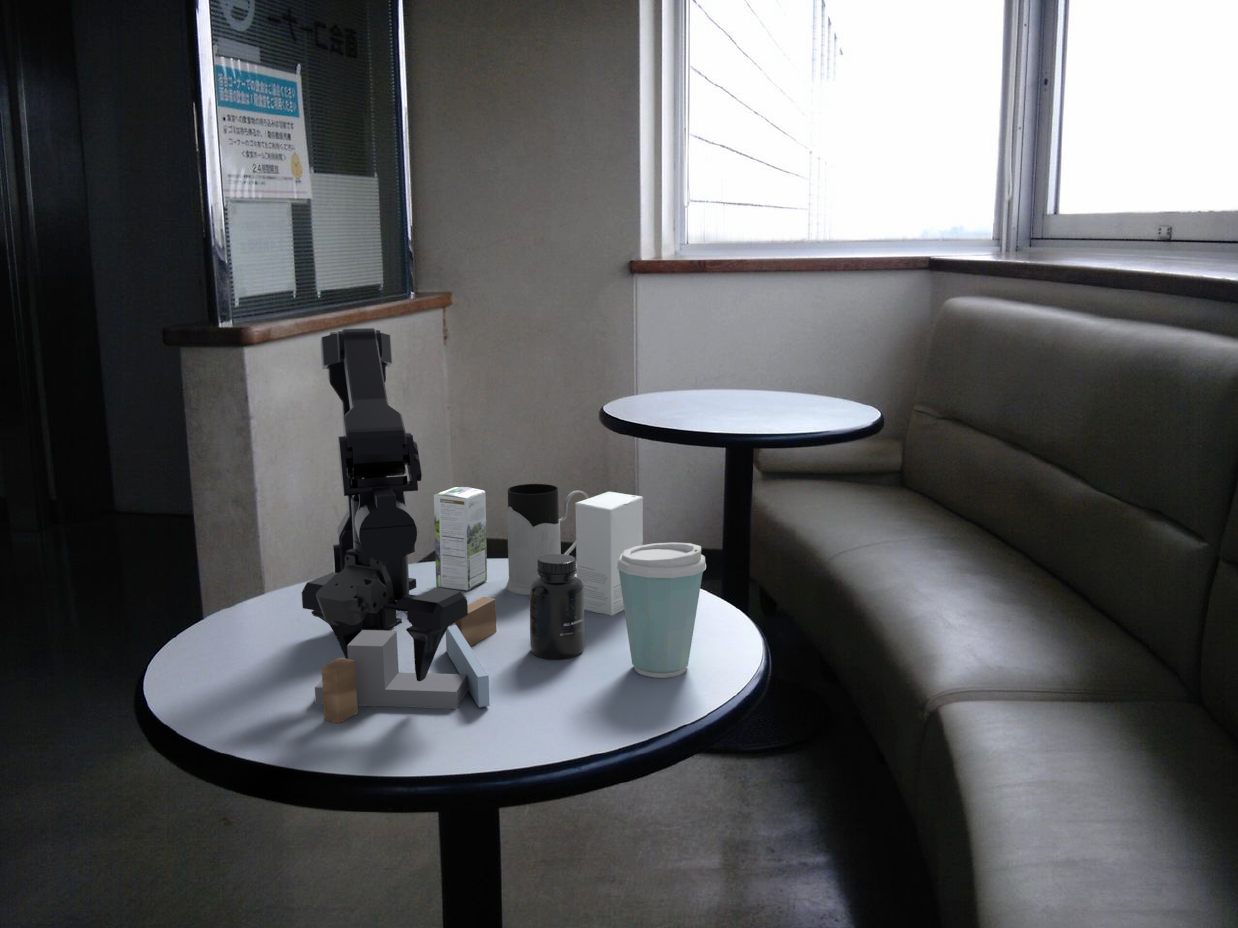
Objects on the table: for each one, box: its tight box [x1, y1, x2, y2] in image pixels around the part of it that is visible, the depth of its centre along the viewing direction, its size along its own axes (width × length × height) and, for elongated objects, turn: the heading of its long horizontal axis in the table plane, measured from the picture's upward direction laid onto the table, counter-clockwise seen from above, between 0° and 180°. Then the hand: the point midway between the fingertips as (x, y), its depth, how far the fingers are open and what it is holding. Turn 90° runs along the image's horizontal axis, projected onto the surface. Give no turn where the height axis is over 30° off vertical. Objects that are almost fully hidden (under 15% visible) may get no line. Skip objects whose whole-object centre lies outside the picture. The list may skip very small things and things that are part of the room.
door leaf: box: [445, 623, 491, 708], centre depth 126 cm, size 1×19×4 cm, turn 20°
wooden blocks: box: [320, 596, 497, 724], centre depth 128 cm, size 2×31×6 cm, turn 154°
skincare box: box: [574, 491, 644, 617], centre depth 151 cm, size 8×7×16 cm
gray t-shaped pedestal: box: [314, 630, 469, 710], centre depth 120 cm, size 16×5×7 cm, turn 84°
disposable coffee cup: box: [617, 541, 707, 679], centre depth 127 cm, size 11×11×15 cm
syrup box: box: [433, 486, 488, 591], centre depth 162 cm, size 6×6×14 cm
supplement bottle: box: [529, 553, 585, 660], centre depth 134 cm, size 7×7×12 cm
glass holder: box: [505, 483, 590, 596], centre depth 162 cm, size 9×14×15 cm, turn 123°
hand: (387, 673), depth 120 cm, fingers open, 9 cm apart
